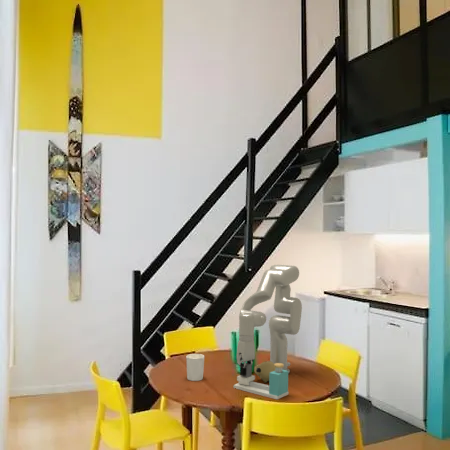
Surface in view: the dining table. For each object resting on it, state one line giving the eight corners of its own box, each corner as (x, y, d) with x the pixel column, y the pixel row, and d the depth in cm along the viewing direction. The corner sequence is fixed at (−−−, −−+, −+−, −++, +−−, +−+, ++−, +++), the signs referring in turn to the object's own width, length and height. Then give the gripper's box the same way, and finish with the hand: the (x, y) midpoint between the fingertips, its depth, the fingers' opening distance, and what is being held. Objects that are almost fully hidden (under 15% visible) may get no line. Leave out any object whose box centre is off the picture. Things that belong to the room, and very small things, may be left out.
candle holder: (192, 374, 274) (193, 352, 274) (207, 377, 269) (208, 355, 269) (182, 379, 265) (182, 356, 265) (197, 382, 260) (197, 359, 260)
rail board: (245, 383, 260) (245, 361, 260) (288, 394, 244) (288, 370, 244) (233, 388, 252) (233, 365, 252) (277, 399, 236) (277, 375, 236)
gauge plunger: (277, 376, 245) (277, 362, 245) (285, 377, 242) (285, 364, 242) (272, 378, 241) (272, 364, 241) (280, 380, 238) (280, 365, 238)
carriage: (245, 380, 258) (245, 361, 258) (254, 382, 254) (254, 363, 254) (236, 383, 253) (237, 364, 253) (246, 386, 249) (246, 366, 249)
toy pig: (253, 378, 269) (253, 358, 269) (275, 378, 269) (275, 358, 269) (255, 384, 259) (255, 363, 259) (278, 384, 259) (278, 363, 259)
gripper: (250, 334, 263) (249, 369, 263) (230, 339, 249) (229, 376, 249) (262, 336, 258) (261, 371, 258) (242, 341, 245) (242, 379, 245)
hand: (245, 373), depth 254 cm, fingers open, 4 cm apart
